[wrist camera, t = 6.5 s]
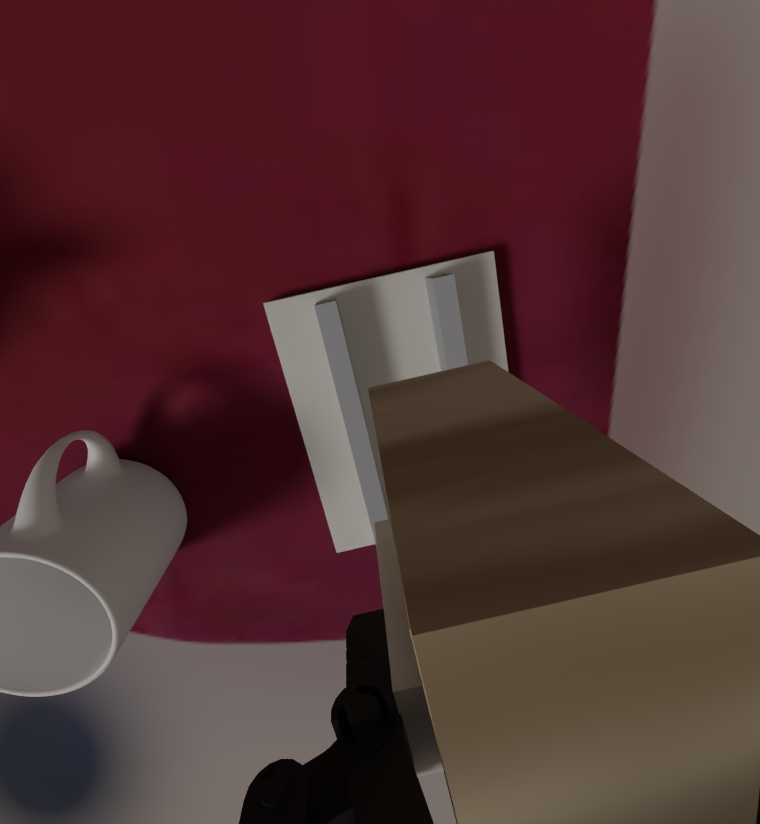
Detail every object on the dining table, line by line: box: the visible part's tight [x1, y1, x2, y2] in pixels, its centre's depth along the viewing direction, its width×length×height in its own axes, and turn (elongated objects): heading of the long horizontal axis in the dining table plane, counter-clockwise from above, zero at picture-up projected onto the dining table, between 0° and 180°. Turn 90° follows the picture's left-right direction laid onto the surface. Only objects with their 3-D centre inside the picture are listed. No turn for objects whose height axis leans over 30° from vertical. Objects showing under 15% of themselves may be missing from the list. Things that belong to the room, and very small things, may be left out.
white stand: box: [263, 251, 508, 609], centre depth 25 cm, size 18×14×11 cm
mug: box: [0, 430, 187, 697], centre depth 25 cm, size 9×12×11 cm
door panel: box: [368, 360, 760, 824], centre depth 11 cm, size 12×4×10 cm, turn 12°
